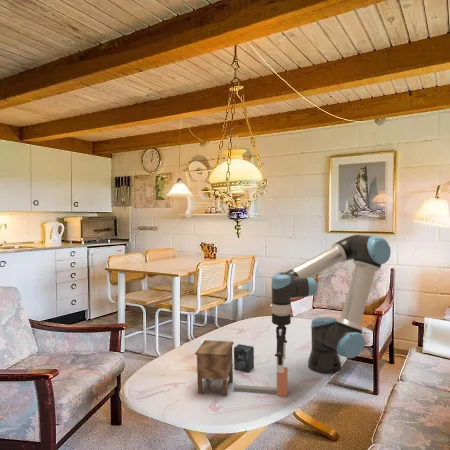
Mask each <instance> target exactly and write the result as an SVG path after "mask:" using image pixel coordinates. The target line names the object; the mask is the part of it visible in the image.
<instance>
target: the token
mask: <svg viewBox="0 0 450 450" xmlns="http://www.w3.org/2000/svg"><path fill="white" fill-rule="evenodd" d="M208 392H211V393H213V392H214V393H223V381H218V380H212V381H211V383H210V385H209V386H208Z"/></svg>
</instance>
